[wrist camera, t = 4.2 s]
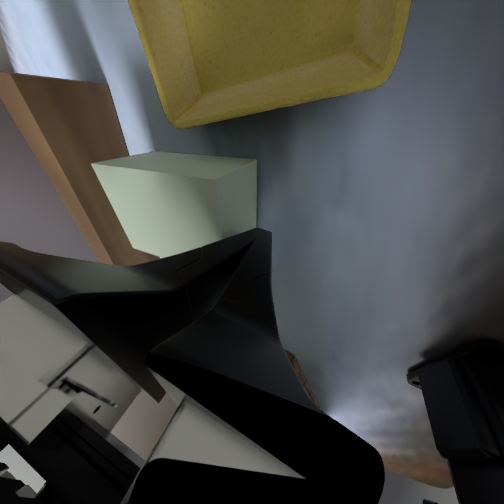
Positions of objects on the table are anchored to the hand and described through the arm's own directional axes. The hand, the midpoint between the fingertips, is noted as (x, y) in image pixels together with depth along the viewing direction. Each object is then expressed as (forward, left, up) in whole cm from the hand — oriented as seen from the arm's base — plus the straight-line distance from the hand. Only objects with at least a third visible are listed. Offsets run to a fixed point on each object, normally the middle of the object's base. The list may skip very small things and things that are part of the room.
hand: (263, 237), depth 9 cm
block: (+5, 0, -2) cm, 5 cm away
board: (+12, +2, -2) cm, 12 cm away
